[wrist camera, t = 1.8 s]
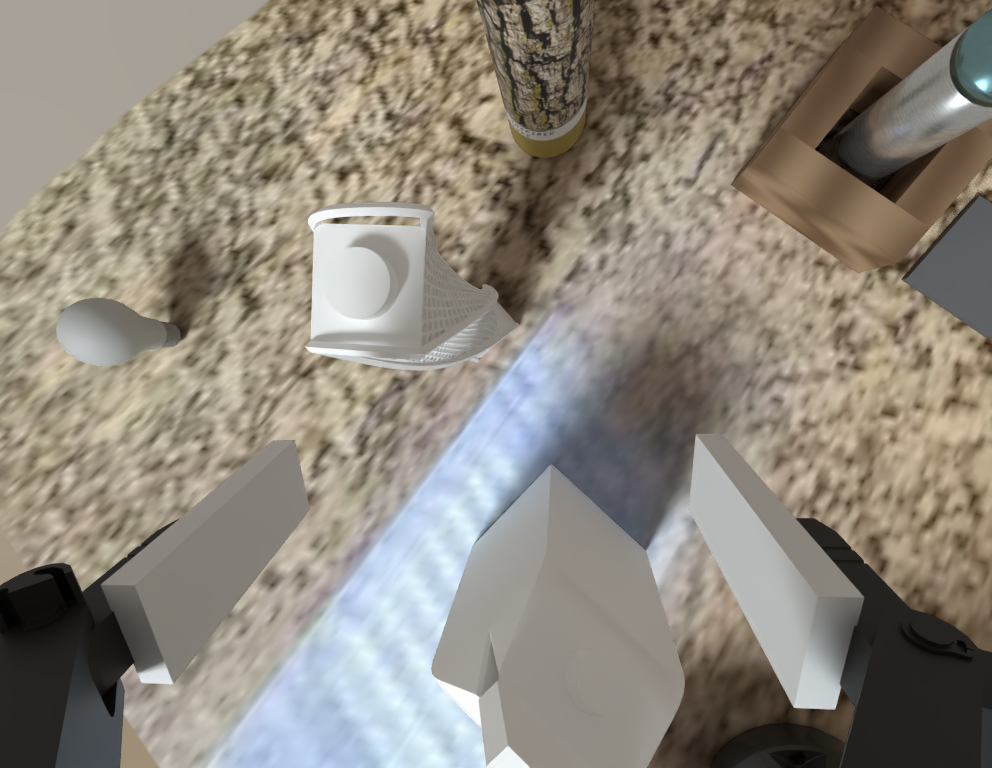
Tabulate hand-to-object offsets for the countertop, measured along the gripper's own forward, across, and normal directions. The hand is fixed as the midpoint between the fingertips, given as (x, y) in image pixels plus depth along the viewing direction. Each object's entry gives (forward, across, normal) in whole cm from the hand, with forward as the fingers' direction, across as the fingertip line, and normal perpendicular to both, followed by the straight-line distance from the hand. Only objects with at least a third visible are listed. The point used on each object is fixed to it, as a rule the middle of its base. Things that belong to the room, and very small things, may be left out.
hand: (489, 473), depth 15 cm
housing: (+31, -28, -11) cm, 43 cm away
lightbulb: (+32, +37, +2) cm, 49 cm away
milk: (+24, -3, +22) cm, 33 cm away
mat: (+28, -38, -2) cm, 47 cm away
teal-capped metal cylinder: (+31, -28, -11) cm, 43 cm away
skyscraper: (+30, +4, +1) cm, 31 cm away
